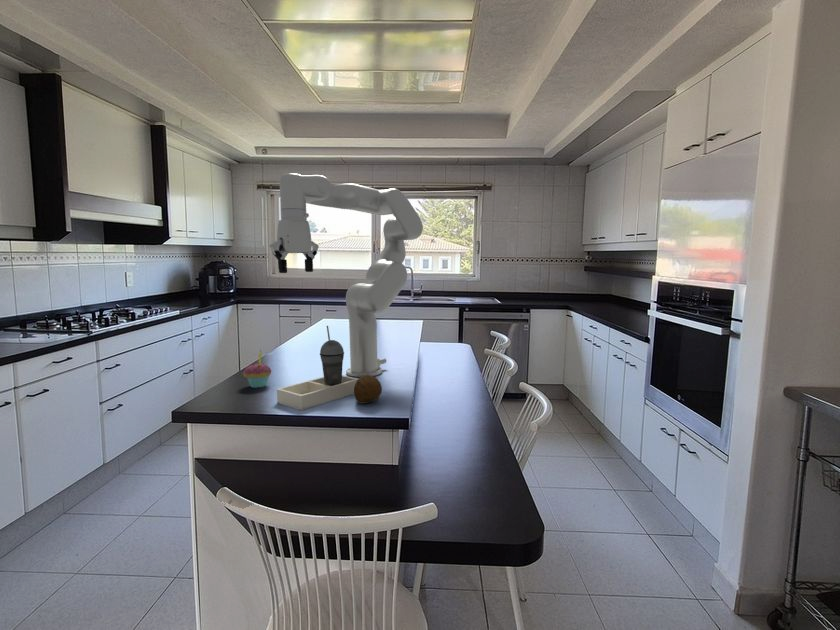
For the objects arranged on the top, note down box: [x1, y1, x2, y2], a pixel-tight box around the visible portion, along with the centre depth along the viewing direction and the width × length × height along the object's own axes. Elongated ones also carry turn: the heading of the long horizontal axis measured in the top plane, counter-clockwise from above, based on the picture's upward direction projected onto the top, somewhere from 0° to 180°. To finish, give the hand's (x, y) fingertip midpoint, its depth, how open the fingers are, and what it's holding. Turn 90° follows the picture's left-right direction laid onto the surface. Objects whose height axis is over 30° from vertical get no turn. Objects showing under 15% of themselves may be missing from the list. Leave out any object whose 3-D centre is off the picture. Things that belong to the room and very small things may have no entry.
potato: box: [353, 375, 383, 404], centre depth 134 cm, size 8×12×8 cm, turn 19°
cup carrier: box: [276, 374, 359, 411], centre depth 139 cm, size 22×11×4 cm, turn 141°
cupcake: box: [242, 349, 272, 389], centre depth 152 cm, size 9×8×12 cm
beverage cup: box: [319, 325, 345, 386], centre depth 142 cm, size 7×7×20 cm
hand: (296, 272), depth 146 cm, fingers open, 9 cm apart
